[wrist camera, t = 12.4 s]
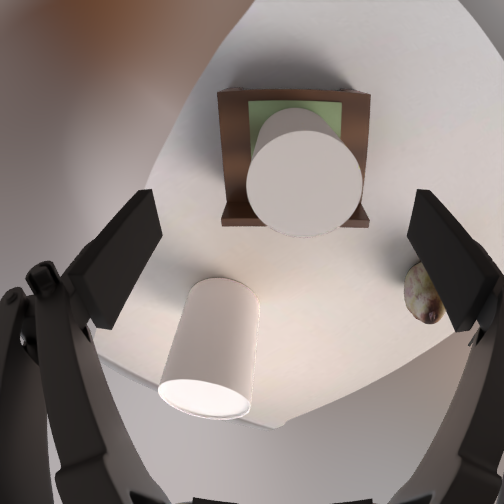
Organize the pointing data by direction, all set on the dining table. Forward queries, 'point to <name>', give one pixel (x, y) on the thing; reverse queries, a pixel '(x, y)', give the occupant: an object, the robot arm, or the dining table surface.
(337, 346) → the dining table surface
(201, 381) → the canister
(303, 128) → the white round cylinder
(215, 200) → the dining table surface
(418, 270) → the fruit
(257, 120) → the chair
